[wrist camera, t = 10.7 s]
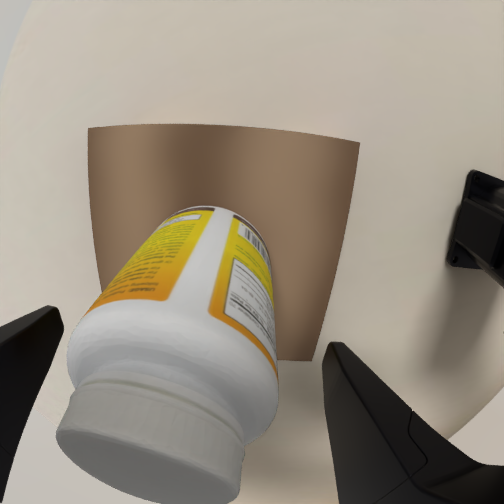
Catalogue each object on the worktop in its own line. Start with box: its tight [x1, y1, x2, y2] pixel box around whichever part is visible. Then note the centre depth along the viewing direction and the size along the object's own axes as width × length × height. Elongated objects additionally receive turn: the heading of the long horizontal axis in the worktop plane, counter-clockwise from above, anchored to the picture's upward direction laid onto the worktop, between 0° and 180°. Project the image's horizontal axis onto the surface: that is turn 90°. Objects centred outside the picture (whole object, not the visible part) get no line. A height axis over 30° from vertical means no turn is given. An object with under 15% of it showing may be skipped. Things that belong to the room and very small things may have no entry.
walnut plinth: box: [88, 124, 360, 361], centre depth 15 cm, size 12×12×3 cm
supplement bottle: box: [56, 206, 279, 504], centre depth 9 cm, size 6×6×10 cm
